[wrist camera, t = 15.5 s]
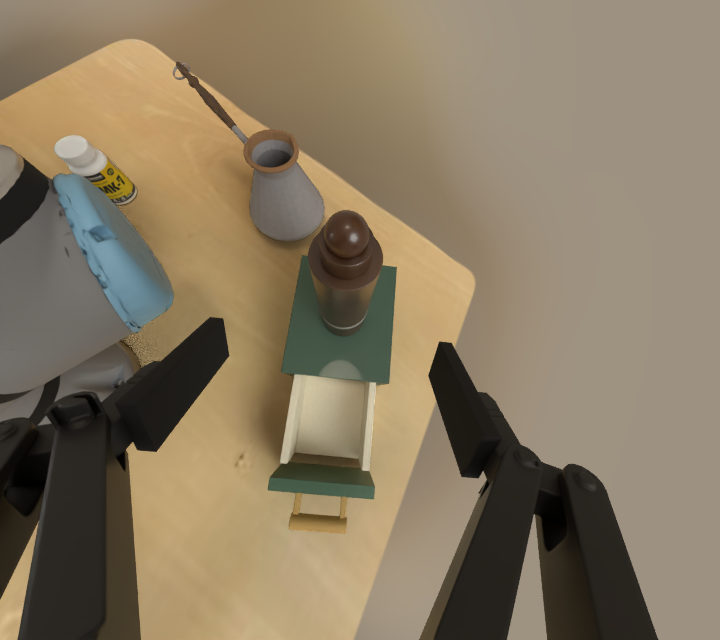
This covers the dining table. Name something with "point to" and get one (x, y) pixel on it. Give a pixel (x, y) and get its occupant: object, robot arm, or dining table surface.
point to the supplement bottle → (95, 168)
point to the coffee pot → (272, 177)
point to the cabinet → (337, 353)
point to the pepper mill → (344, 271)
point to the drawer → (326, 446)
